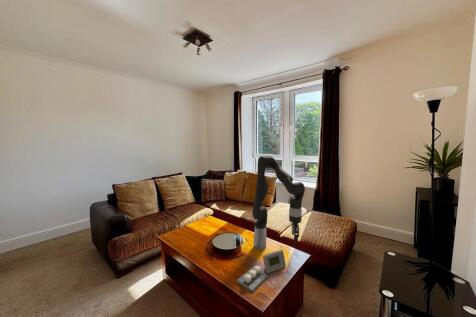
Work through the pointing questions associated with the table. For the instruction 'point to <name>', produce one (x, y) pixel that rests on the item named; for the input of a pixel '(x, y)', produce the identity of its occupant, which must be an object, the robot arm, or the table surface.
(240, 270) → the table surface
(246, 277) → the button
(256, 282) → the button board
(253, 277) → the button
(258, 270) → the button
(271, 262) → the digital clock
